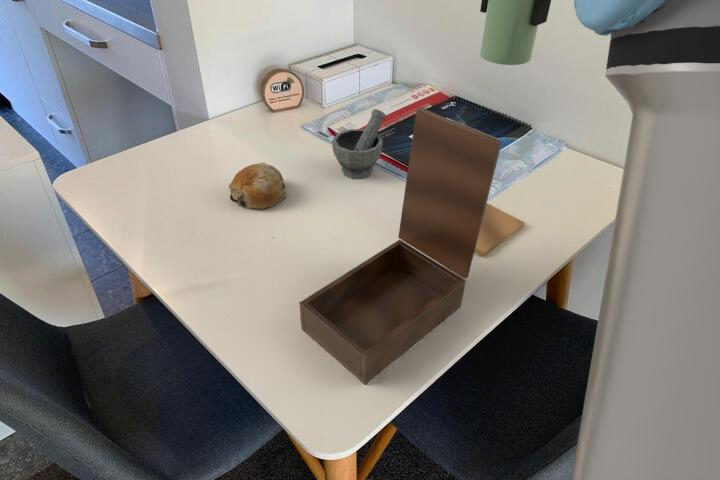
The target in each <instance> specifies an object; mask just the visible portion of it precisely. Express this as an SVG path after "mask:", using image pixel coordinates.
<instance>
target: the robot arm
mask: <svg viewBox="0 0 720 480" xmlns="http://www.w3.org/2000/svg"><path fill="white" fill-rule="evenodd" d="M487 3H488V0H481V2H480V9H479V12H480V13H483V14H486V9H487ZM551 3H552V0H535V3H534V8H533V13H532V17H531V22H530V25H533V26H537V25H538V26H540V25H542V24H545V23H547V22H548V21H547V20H548V16H549V12H550V6H551ZM573 3H574V4H573V7H574V12H575V15H576V17H577V19H578V21H579V23H580V24H581V25H582V26H583V27H584V28H587V29H589V30H590V31H593V32H594V33H595V34H596V35H599V36H605V37H606V36H609V35H610V42H609V46H608V47H609V48H608V54H607V61H606V67H605V78H606V79H607V80H608V82H609V83H610V84H611V85H612V86H613V87H614V88H615V90H616V91H617V92H618V93H619V94H620V96H621V97H622V98H623V100H624V101H625V102H626V103H627V105H628V107H629V109H630V111H631V113H632V116H631V124H630V130H629V135H628V142H627V147H626V153H625V159H624V163H623V170H622V175H621V181H620V182H621V183H620V189H619V195H618V201H617V206H616V207H617V208H616V212H615V217H614V225H613V231H612V237H611V242H610V248H609V254H608V260H607V266H606V272H605V276H604V277H605V278H604V284H603V290H602V295H601V301H600V307H599V314H598V319H597V325H596V329H595V330H596V331H595V336H594V342H593V349H592V353H591V354H592V355H591V359H590V360H591V361H590V367H589V372H588V373H589V374H588V378H587V385H586V390H585V396H584V402H583V409H582V414H581V420H580V426H579V433H578V437H577V444H576V450H575V456H574V462H573V468H572V474H571V479H570V480H720V0H573Z"/></svg>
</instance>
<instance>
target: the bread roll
mask: <svg viewBox="0 0 720 480" xmlns="http://www.w3.org/2000/svg"><path fill="white" fill-rule="evenodd" d="M284 181H285V180H284V177H283V175H282V173H281V171H280V170H279V169H278V168H277V167H275V166H273V165H271V164H267V163H266V162H258V163H253V164H249V165H247V166H245V167H243V168H242V169H240V170H239V171H238V172H236V174H235V175H234V177H233V179H232V181H231V183H230V184H229V185H228V188H229V190H230V191H229V192H230V195H229V200H230V201H231V202H233V203H236V204H237V206H239V207H242V208H245V209H249V210H264V209H266V208H270V207H274V206H276V205H278V204H280V203H281V202H282V201H283V199H286V198H287V195H288V193H287V191H285V188H286V186H285V182H284Z"/></svg>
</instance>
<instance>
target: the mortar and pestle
mask: <svg viewBox="0 0 720 480" xmlns="http://www.w3.org/2000/svg"><path fill="white" fill-rule="evenodd" d="M386 117H387V114H386V113H384V112H383V111H381V110H380V109H377V108H374V109H372V111H371V115H370V118H369V119H368V121H367V124H366V126H365V128H359V129H358V128H350V129H346V130H343V131H339V132H337V133H336V134H335V136H334V137H333V138H332V140H331V147H332V152H333V154H334V156H335V158H336V160H337V162H338V163H339V165H340V167H341V172H342V174H343V176H344V177H346V178H349V179H351V180H364V179H366V178H368V177H371V176H372V173H373V172H374V169H373V168H374V166H375V165H376V163H377V162H378V160H379V158H380V157H381V155H382V152H383V148H384V140H383V138H381V136H380V135H379V132H380V131H379V130H380V129H381V125H382V123H383V120H385V119H386Z"/></svg>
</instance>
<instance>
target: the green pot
mask: <svg viewBox="0 0 720 480" xmlns="http://www.w3.org/2000/svg"><path fill="white" fill-rule="evenodd" d="M534 3H535V0H488V3H487V9H486V13H485V17H484V23H483V29H482V36H481V41H480V42H481V43H480V48H479V56H480V58H482V59H483V60H484V61H487V62H488V63H489V62H490V63H493V64H497V65H503V66H520V65H524V64H527V63H529V62H531V60H532V56H533V51H534V47H535V43H536V38H537V33H538V30H539V25H537V26H533V25H530V22H531V17H532V13H533V8H534Z"/></svg>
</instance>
